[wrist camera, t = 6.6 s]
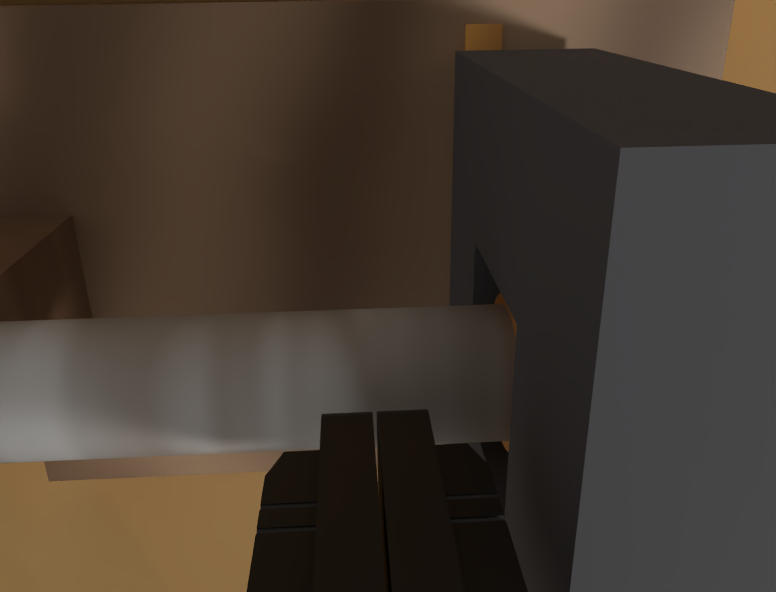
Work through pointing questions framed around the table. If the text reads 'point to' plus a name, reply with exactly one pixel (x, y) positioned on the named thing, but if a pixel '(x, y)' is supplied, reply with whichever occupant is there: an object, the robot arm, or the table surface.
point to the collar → (625, 314)
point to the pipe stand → (256, 220)
